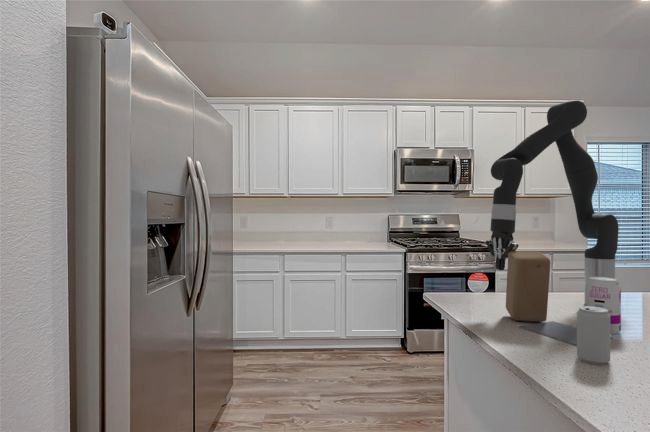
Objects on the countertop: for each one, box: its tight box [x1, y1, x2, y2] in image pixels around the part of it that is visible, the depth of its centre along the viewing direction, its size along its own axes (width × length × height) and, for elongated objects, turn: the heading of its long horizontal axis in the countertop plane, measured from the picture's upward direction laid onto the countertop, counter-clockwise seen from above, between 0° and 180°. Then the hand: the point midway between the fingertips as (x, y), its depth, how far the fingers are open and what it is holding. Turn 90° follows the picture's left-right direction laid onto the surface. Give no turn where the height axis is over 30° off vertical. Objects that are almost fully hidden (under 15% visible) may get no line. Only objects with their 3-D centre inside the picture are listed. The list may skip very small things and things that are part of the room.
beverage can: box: [576, 305, 611, 365], centre depth 93 cm, size 6×6×12 cm
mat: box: [518, 320, 614, 346], centre depth 114 cm, size 14×18×1 cm
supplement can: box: [585, 277, 622, 336], centre depth 116 cm, size 8×8×15 cm
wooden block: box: [505, 250, 551, 323], centre depth 127 cm, size 10×10×20 cm
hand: (499, 269), depth 136 cm, fingers closed
